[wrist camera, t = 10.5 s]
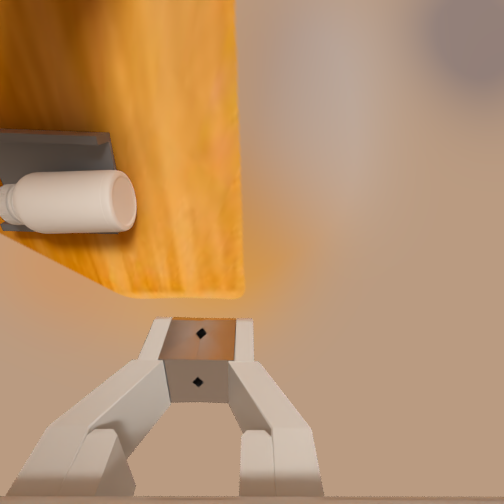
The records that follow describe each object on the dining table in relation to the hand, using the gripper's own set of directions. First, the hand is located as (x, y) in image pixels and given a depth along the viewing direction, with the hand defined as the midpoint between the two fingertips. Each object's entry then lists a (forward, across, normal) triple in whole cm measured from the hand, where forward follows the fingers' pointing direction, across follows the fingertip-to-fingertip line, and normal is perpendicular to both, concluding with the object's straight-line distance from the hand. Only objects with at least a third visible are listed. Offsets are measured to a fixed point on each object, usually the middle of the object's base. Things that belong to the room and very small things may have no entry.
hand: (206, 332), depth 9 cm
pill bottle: (+28, +14, +6) cm, 32 cm away
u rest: (+33, +25, +5) cm, 42 cm away
